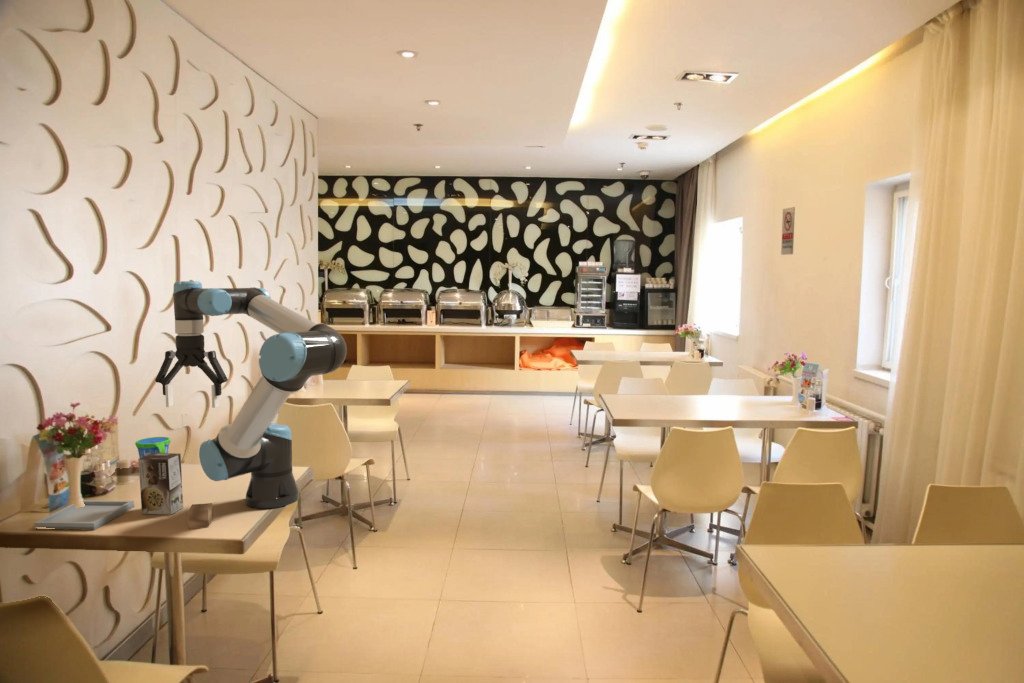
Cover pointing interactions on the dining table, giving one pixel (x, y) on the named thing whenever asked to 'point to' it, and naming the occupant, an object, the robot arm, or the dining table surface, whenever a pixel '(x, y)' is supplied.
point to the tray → (85, 515)
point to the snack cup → (152, 445)
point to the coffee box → (161, 483)
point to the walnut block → (200, 515)
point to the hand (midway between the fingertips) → (192, 406)
